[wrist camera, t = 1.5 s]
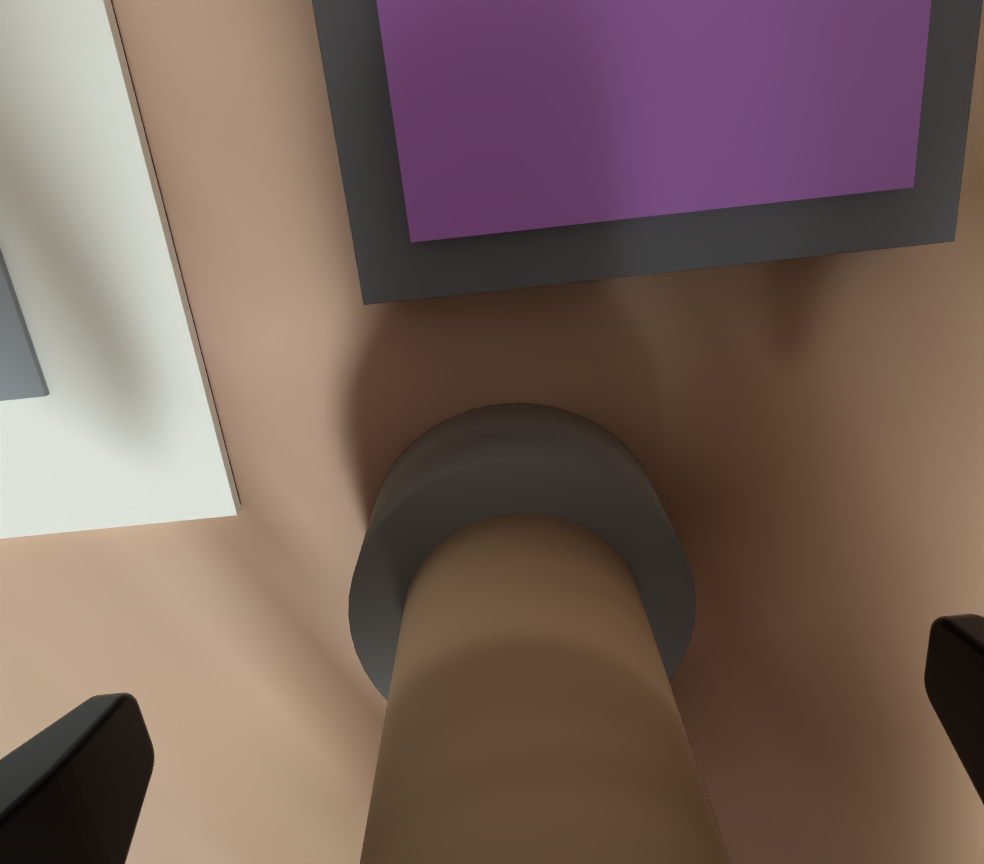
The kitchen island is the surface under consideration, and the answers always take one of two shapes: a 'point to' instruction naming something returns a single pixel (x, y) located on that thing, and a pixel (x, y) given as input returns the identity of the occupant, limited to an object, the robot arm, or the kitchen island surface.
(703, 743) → the kitchen island surface
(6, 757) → the robot arm
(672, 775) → the stamp
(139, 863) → the kitchen island surface
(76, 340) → the sheet
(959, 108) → the ink pad
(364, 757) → the kitchen island surface
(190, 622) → the kitchen island surface
